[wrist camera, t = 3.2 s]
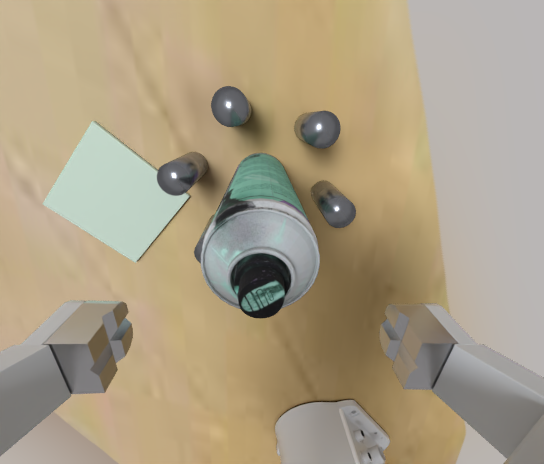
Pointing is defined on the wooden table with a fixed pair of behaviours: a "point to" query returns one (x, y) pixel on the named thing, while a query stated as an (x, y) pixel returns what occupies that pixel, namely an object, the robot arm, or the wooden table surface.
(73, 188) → the mat
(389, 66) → the wooden table surface
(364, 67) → the wooden table surface
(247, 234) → the spray can
